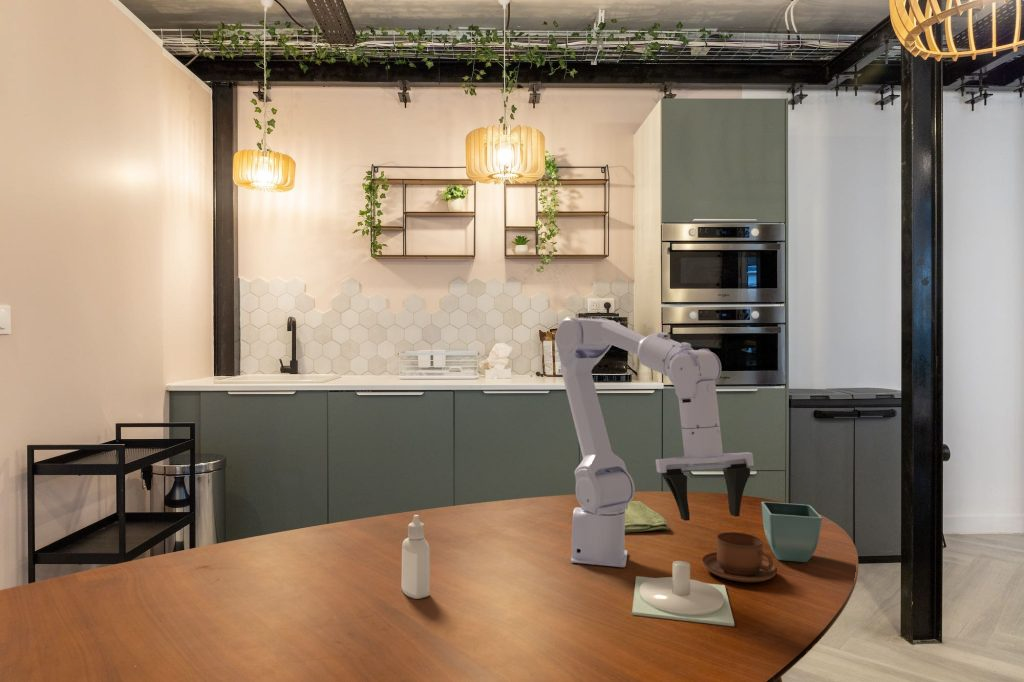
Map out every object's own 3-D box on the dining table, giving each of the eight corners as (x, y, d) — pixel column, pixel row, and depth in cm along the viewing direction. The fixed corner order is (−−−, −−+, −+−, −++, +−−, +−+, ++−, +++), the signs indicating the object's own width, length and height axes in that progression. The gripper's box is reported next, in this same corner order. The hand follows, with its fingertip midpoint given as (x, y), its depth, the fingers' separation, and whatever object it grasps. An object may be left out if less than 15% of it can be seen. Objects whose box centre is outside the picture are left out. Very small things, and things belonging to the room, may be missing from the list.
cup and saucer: (783, 572, 110) (784, 536, 109) (767, 595, 100) (768, 556, 100) (714, 557, 116) (714, 524, 116) (692, 577, 106) (693, 541, 106)
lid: (638, 610, 92) (638, 574, 92) (640, 578, 104) (641, 547, 104) (727, 620, 89) (728, 583, 89) (719, 586, 101) (720, 554, 101)
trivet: (632, 614, 91) (632, 611, 91) (636, 578, 105) (636, 576, 105) (734, 626, 88) (734, 623, 88) (724, 587, 102) (724, 585, 102)
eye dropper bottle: (400, 600, 95) (401, 521, 95) (401, 585, 101) (402, 510, 100) (429, 599, 96) (430, 520, 95) (429, 585, 101) (430, 510, 101)
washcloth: (613, 537, 128) (613, 521, 128) (586, 512, 145) (587, 498, 145) (673, 534, 130) (673, 518, 130) (640, 510, 148) (641, 496, 148)
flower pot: (822, 568, 111) (823, 517, 111) (768, 564, 113) (769, 513, 113) (809, 551, 120) (810, 504, 120) (759, 547, 122) (760, 501, 121)
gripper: (661, 431, 93) (670, 526, 92) (757, 424, 94) (768, 517, 92) (649, 430, 100) (657, 518, 99) (738, 423, 101) (748, 510, 99)
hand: (710, 517), depth 96 cm, fingers open, 7 cm apart
